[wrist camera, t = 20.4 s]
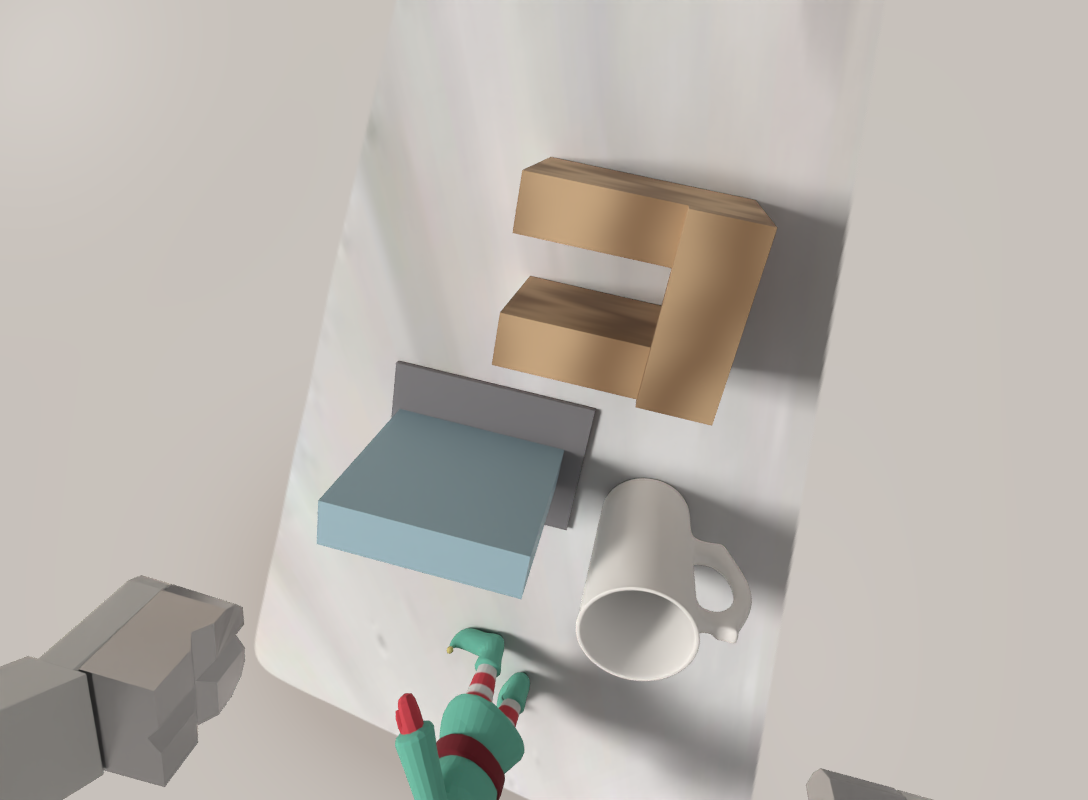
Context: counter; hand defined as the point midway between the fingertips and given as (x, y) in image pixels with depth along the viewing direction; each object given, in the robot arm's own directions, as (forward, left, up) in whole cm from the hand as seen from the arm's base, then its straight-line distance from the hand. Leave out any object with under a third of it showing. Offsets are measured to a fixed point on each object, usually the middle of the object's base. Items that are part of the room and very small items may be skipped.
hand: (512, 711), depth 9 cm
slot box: (+1, -1, -34) cm, 34 cm away
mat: (+7, -17, -34) cm, 39 cm away
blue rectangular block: (+7, -17, -34) cm, 38 cm away
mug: (+18, -8, -34) cm, 40 cm away
